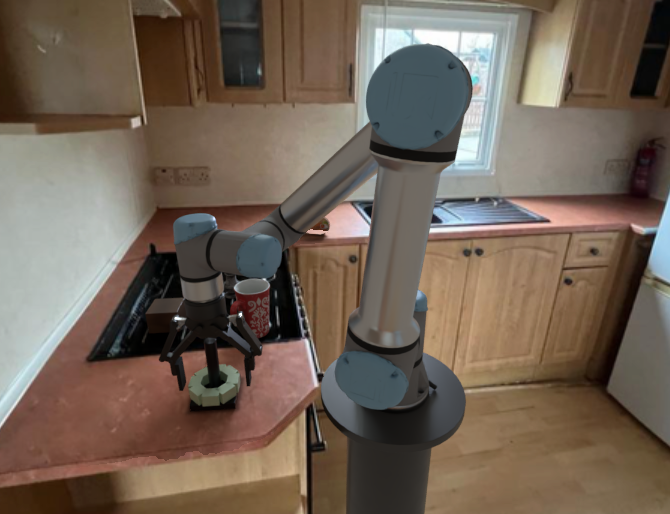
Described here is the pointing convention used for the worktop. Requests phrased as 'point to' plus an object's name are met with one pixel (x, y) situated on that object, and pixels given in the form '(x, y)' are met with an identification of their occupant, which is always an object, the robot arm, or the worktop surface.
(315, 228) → the tin
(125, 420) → the worktop surface
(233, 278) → the grey chess piece
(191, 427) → the worktop surface
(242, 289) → the mug
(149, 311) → the riser
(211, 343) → the stand
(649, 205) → the worktop surface
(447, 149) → the robot arm
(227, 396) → the ring disc
